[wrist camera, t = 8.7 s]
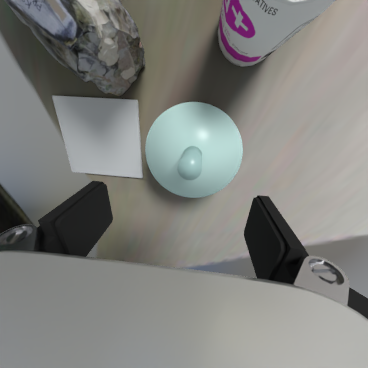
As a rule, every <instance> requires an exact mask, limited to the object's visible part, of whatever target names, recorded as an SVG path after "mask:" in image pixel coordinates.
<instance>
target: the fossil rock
mask: <svg viewBox="0 0 368 368" xmlns="http://www.w3.org/2000/svg"><path fill="white" fill-rule="evenodd" d="M5 2H6V3H7V4H8V5H9V7H10V8H11V9H12V10H13V12H14V13H15V14H16V16H17V17H18V18H19V19H20V21H21V22H22V23H24V24H26V25H27V26H29V27H30V28H31V30H32V32H33V34H34V35H35V36H36V37H37V39H38V40H39V41H40V42H41V43H42V44H43V46H44V47H45V48H46V50H47V51H48V52H49V53H50V54H51V55H52V56H53V57H54V58H55V59H56V60H57V61H58V62H59V63H60V64H61V65H63V66H65V67H66V68H68V69H69V70H71V71H72V72H73V73H74V74H76V75H77V76H78V77H79V78H81V79H82V80H84V81H86V82H88V81H89V80H90V81H92V82H94V83H95V84H96V85H97V87H98V88H99V89H100V90H101V91H103V92H104V93H105V94H107V93H111V94H112V93H113V94H114V95H118V96H121V95H123V94H124V93H125V92H126V91H127V90H128V89H129V87H130V86H131V84H132V83H133V82H134V81H135V80H136V79H137V75H138V73H139V71H140V69H141V68H142V67H144V66H145V59H144V48H143V46H142V43H141V41H140V37H139V34H138V28H137V26H136V24H135V22H134V21H133V20H132V18H131V16H130V14H129V13H128V12H127V10H126V9H125V8H124V7H123V6H122V3H121V1H120V0H5Z"/></svg>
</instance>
